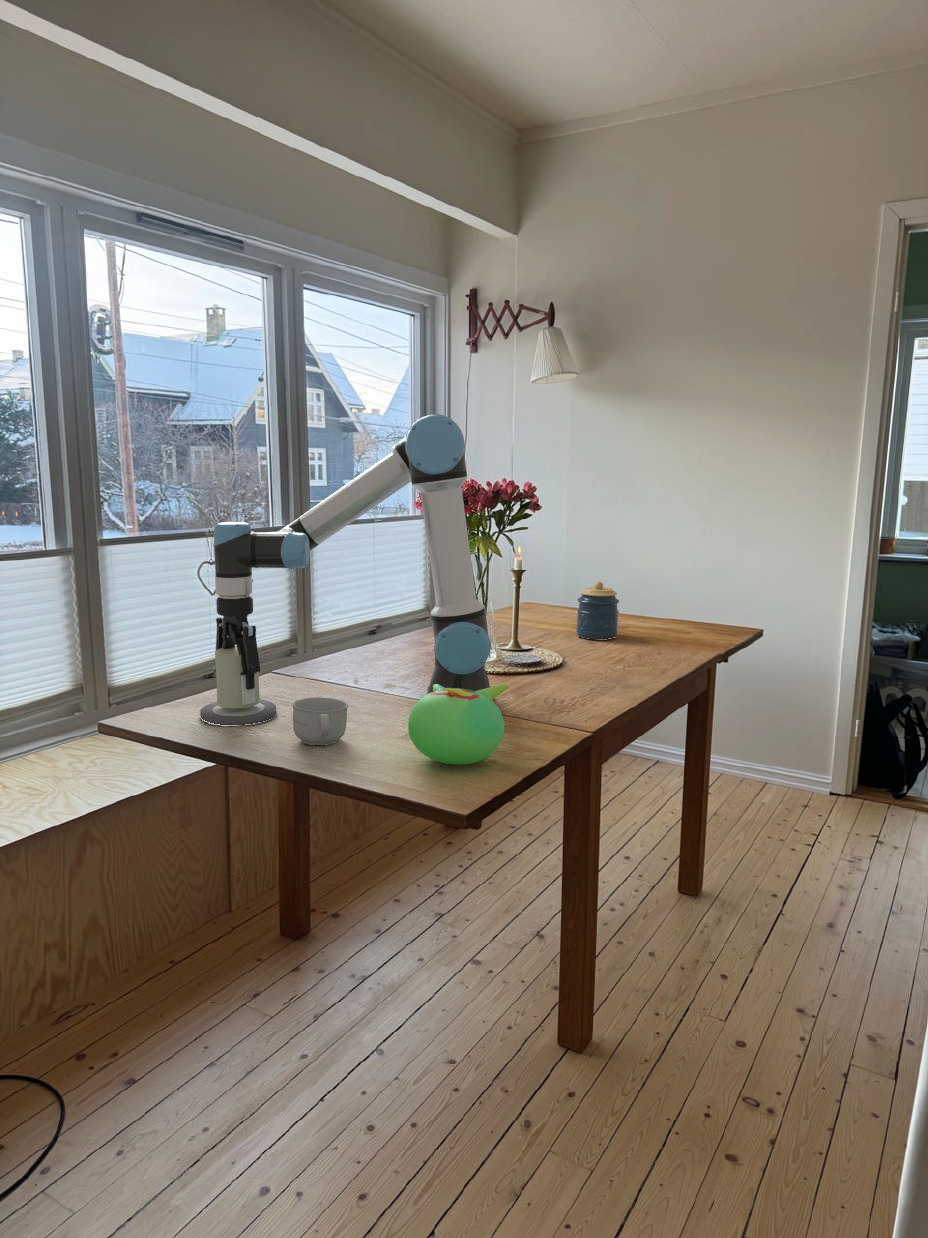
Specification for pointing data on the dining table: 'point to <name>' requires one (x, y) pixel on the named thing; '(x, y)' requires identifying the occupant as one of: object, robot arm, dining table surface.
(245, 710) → the pad
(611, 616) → the canister
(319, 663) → the dining table surface
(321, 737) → the teacup
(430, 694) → the green round lump
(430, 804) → the dining table surface
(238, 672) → the can
